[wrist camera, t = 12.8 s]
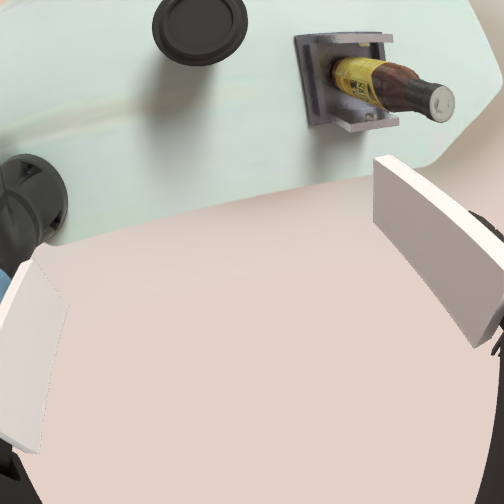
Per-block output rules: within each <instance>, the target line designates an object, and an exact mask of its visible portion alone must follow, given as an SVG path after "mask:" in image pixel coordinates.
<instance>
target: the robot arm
mask: <svg viewBox="0 0 504 504" xmlns="http://www.w3.org/2000/svg"><path fill="white" fill-rule="evenodd" d="M373 168H374V198H373V222H374V223H375V224H376V225H377V226H378V227H379V229H380V230H381V231H382V232H383V233H384V234H385V235H386V236H387V238H388V239H389V240H390V241H391V242H392V243H393V244H394V245H395V247H396V248H397V249H398V250H399V251H400V252H401V254H402V255H403V256H404V257H405V258H406V260H407V261H408V262H409V263H410V264H411V266H412V267H413V268H414V269H415V271H416V272H417V273H418V274H419V275H420V277H421V278H422V279H423V280H424V281H425V283H426V284H427V285H428V287H429V288H430V289H431V291H432V292H433V293H434V294H435V296H436V297H437V298H438V300H439V301H440V302H441V304H442V305H443V306H444V308H445V309H446V310H447V312H448V313H449V314H450V316H451V317H452V318H453V320H454V321H455V322H456V324H457V325H458V327H459V328H460V330H461V331H462V332H463V334H464V335H465V337H466V338H467V340H468V341H469V342H470V344H471V345H472V347H473V348H474V349H475V348H477V347H478V346H480V345H481V344H483V343H484V342H486V341H488V340H489V339H491V338H492V336H493V335H494V333H495V331H496V329H497V328H498V326H499V325H500V326H501V328H502V329H503V330H504V237H503V234H501V233H500V232H499V231H498V230H495V227H494V226H493V225H491V224H490V223H489V222H488V221H487V220H486V219H484V218H483V217H481V216H479V215H477V214H475V213H473V212H471V211H467V210H465V209H464V208H463V207H462V206H460V205H459V204H458V203H457V202H455V201H454V200H453V199H452V198H450V197H449V196H448V195H447V194H445V193H444V192H442V191H441V190H440V189H439V188H437V187H436V186H435V185H433V184H432V183H431V182H429V181H428V180H427V179H425V178H424V177H422V176H421V175H420V174H418V173H417V172H415V171H414V170H413V169H411V168H410V167H408V166H407V165H405V164H404V163H402V162H401V161H399V160H398V159H396V158H395V157H393V156H392V155H386V156H381V157H376V158H373ZM67 206H68V198H67V192H66V188H65V185H64V182H63V180H62V178H61V176H60V175H59V173H58V172H57V171H56V169H55V168H54V167H53V166H52V165H51V164H50V163H48V162H47V161H46V160H44V159H42V158H40V157H38V156H35V155H31V154H20V155H17V156H14V157H12V158H10V159H9V160H7V161H6V162H5V163H4V164H2V165H0V504H42V502H41V500H40V498H39V496H38V494H37V493H36V491H35V489H34V487H33V485H32V483H31V481H30V479H29V477H28V475H27V473H26V471H25V469H24V467H23V465H22V462H21V460H20V458H19V457H18V455H17V454H16V453H14V452H12V446H14V447H16V448H18V449H20V450H21V451H23V452H25V453H33V454H40V447H41V437H42V428H43V421H44V414H45V407H46V401H47V395H48V389H49V384H50V379H51V374H52V369H53V365H54V360H55V356H56V351H57V347H58V343H59V339H60V335H61V331H62V328H63V324H64V321H65V317H66V314H67V310H68V306H67V304H66V303H65V302H64V300H63V299H62V298H61V296H60V295H59V294H58V292H57V291H56V290H55V288H54V287H53V285H52V284H51V283H50V281H49V280H48V278H47V277H46V275H45V274H44V273H43V271H42V270H41V268H40V267H39V265H38V264H37V262H36V261H35V260H34V258H32V259H30V257H31V255H32V254H33V252H34V250H35V248H36V247H37V246H39V245H40V244H42V243H43V242H45V241H46V240H48V239H49V238H50V237H52V236H53V235H54V234H55V233H56V232H57V230H58V229H59V227H60V225H61V224H62V222H63V220H64V218H65V216H66V212H67ZM29 259H30V260H29ZM499 347H500V353H499V355H498V356H499V357H500V372H499V386H498V397H497V405H496V413H495V420H494V427H493V432H492V438H491V443H490V448H489V453H488V458H487V462H486V466H485V470H484V474H483V478H482V482H481V485H480V488H479V492H478V495H477V498H476V501H475V504H504V332H503V333H502V335H501V337H500V338H499V340H498V341H497V343H496V344H495V346H494V347H493V349H492V353H491V355H495V353H496V352H497V350H498V349H499Z"/></svg>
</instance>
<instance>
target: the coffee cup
mask: <svg viewBox="0 0 504 504" xmlns="http://www.w3.org/2000/svg"><path fill="white" fill-rule="evenodd" d="M247 28H248V17H247V10H246V7H245V5H244V3H243V1H242V0H163V1H162V2H161V3H160V5H159V6H158V8H157V10H156V12H155V14H154V17H153V22H152V33H153V37H154V40H155V43H156V45H157V46H158V48H159V49H160V50H161V52H162V53H163V54H164V55H166V56H167V57H168V58H170V59H171V60H173V61H175V62H177V63H180V64H183V65H188V66H206V65H211V64H214V63H217V62H220V61H222V60H224V59H225V58H227V57H229V56H230V55H231V54H233V53H234V52H235V51H236V50H237V49H238V47H239V46H240V45H241V43H242V42H243V40H244V38H245V35H246V32H247Z"/></svg>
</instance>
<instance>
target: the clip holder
mask: <svg viewBox="0 0 504 504" xmlns="http://www.w3.org/2000/svg"><path fill="white" fill-rule="evenodd" d="M295 39H296V45H297V50H298V55H299V61H300V66H301V72H302V78H303V84H304V90H305V97H306V103H307V110H308V117H309V124H310V125H311V126H312V125H318V124H323V123H329V122H333V123H335V124H337V125H338V126H340V127H342V128H344V129H345V130H347V131H349V132H350V133H353V132H359V131H365V130H371V129H378V128H385V127H392V126H399V117H397V116H394V115H392V114H390V113H389V111H387V110H385V109H382V108H380V107H378V106H375V105H372V104H370V103H368V102H365V101H362V100H360V99H357V98H354V97H352V96H349V95H347V94H345V93H344V92H342V91H340V90H339V89H338V88H337V87H336V85H335V83H334V82H333V79H332V69H333V66H334V64H335V63H336V62H337V61H338V60H339V59H341V58H343V57H351V56H356V57H363V58H369V59H375V60H381V61H386V60H385V51H384V43H383V42H393V35H392V34H382V32H336V33H319V34H307V35H297V36H295Z"/></svg>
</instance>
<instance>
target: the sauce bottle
mask: <svg viewBox="0 0 504 504" xmlns="http://www.w3.org/2000/svg"><path fill="white" fill-rule="evenodd" d="M332 79H333V82H334V83H335V85H336V87H337V88H338V89H339V90H340V91H342V92H344V93H345V94H347V95H349V96H352V97H354V98H357V99H360V100H362V101H365V102H368V103H370V104H372V105H375V106H378V107H380V108H382V109H385V110H387V111H390V112H394V113H395V112H405V111H414V112H418V113H421V114H423V115H425V116H426V117H427V118H428V119H430V120H433V121H435V122H438V123H443V122H446V121H448V120H449V119H450V118H451V117H452V115H453V112H454V109H455V98H454V95H453V93H452V91H451V90H450V89H449V88H448V87H446V86H444V85H441V84H437V83H433V84H432V83H428V82H425V81H424V80H421V79H420V78H419V76H418V75H417V74H416V73H415V72H414V71H413V70H411V69H409V68H407V67H405V66H402V65H397V64H395V63H391V62H386V61H381V60H375V59H369V58H363V57H356V56H351V57H343V58H341V59H339V60H338V61H337V62H336V63H335V64H334V66H333V69H332Z"/></svg>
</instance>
